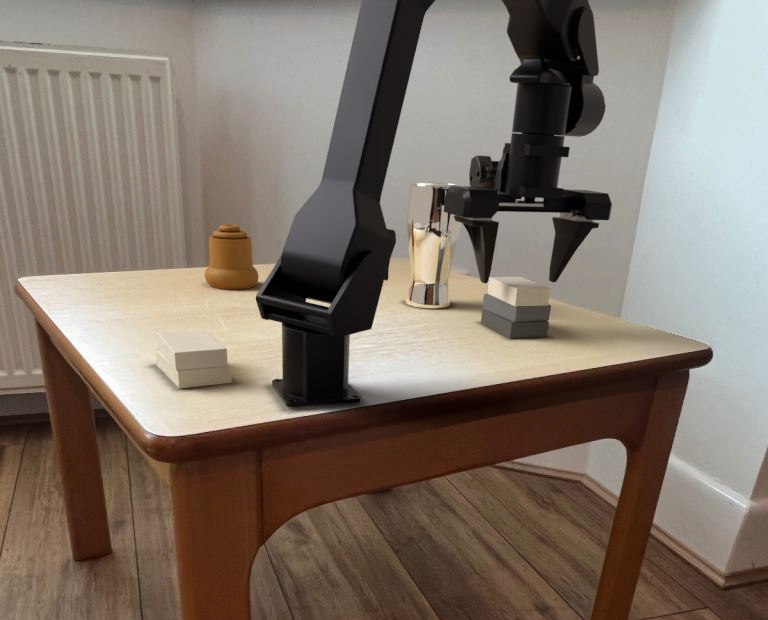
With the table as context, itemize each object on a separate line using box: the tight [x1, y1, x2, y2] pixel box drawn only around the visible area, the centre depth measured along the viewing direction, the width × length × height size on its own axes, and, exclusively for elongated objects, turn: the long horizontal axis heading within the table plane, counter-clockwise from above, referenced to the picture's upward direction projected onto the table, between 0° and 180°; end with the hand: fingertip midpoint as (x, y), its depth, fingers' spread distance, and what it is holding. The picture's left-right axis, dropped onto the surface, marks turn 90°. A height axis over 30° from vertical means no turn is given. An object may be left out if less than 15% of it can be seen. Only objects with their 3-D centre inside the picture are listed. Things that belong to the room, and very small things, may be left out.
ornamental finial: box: [204, 223, 259, 290], centre depth 104 cm, size 8×8×8 cm
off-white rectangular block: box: [487, 276, 551, 306], centre depth 89 cm, size 7×4×2 cm, turn 20°
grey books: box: [480, 293, 552, 339], centre depth 90 cm, size 8×5×4 cm
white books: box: [154, 328, 233, 390], centre depth 68 cm, size 8×5×3 cm, turn 30°
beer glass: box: [405, 181, 463, 310], centre depth 98 cm, size 7×7×15 cm
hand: (518, 282), depth 88 cm, fingers open, 9 cm apart
